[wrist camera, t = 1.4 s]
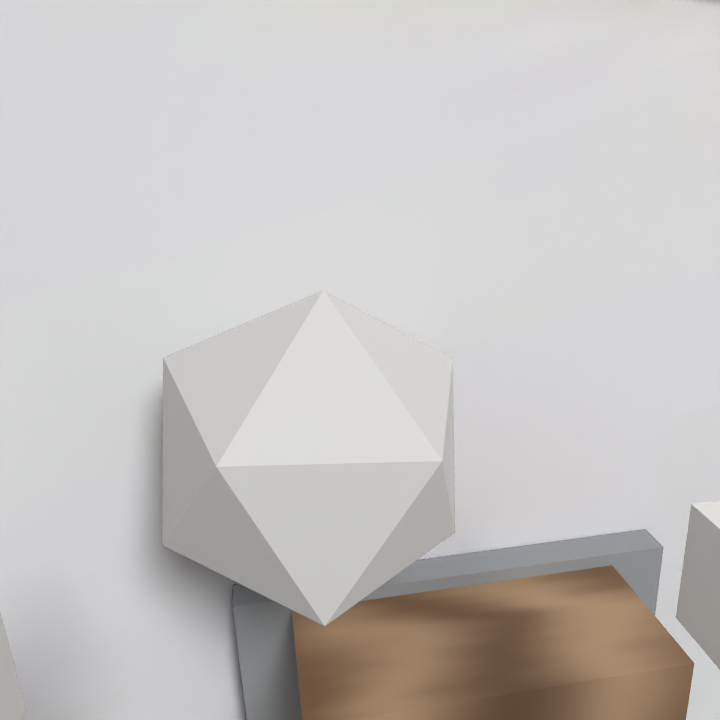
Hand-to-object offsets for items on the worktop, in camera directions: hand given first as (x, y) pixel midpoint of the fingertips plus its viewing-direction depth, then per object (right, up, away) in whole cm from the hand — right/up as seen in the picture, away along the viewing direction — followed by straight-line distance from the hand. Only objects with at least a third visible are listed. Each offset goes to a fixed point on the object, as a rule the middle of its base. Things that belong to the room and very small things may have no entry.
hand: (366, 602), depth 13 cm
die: (-2, +3, +10) cm, 11 cm away
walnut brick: (+4, -9, +14) cm, 17 cm away
